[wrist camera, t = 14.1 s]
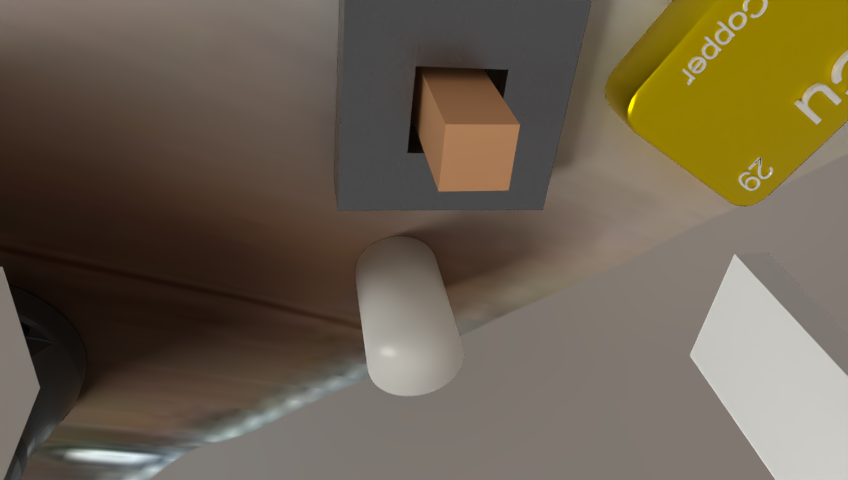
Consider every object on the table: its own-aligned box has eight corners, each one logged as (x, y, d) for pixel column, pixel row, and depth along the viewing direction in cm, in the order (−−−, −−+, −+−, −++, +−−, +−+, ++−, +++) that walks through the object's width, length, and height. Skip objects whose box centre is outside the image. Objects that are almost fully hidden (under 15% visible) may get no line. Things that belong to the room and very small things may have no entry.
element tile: (758, -105, 41) (807, -92, 37) (878, 30, 48) (930, 54, 44) (590, 91, 47) (617, 121, 43) (718, 188, 53) (752, 221, 50)
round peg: (353, 303, 53) (365, 398, 45) (356, 236, 50) (370, 327, 42) (432, 300, 55) (457, 393, 47) (441, 235, 51) (470, 323, 43)
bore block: (333, 179, 47) (337, 210, 43) (340, -32, 39) (345, -14, 36) (525, 180, 49) (542, 209, 46) (567, -17, 42) (591, 1, 38)
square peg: (410, 115, 45) (438, 191, 37) (415, 57, 43) (445, 124, 35) (469, 115, 46) (508, 190, 38) (476, 58, 43) (520, 124, 35)
